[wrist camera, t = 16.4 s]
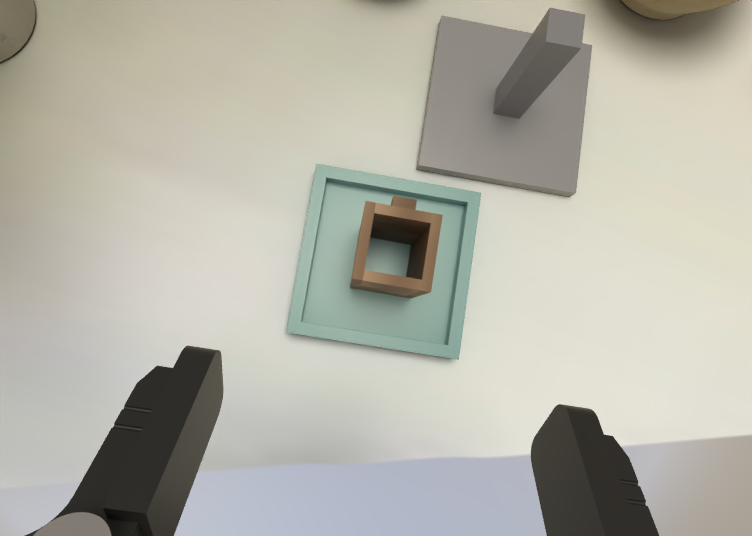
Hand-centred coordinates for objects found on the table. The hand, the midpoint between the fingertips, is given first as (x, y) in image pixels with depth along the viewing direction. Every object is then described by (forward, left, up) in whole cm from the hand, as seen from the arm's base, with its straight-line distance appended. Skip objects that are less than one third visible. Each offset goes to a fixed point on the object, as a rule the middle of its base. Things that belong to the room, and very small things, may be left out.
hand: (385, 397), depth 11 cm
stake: (-13, +21, -28) cm, 38 cm away
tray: (-5, +5, -28) cm, 29 cm away
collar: (-5, +5, -28) cm, 29 cm away
